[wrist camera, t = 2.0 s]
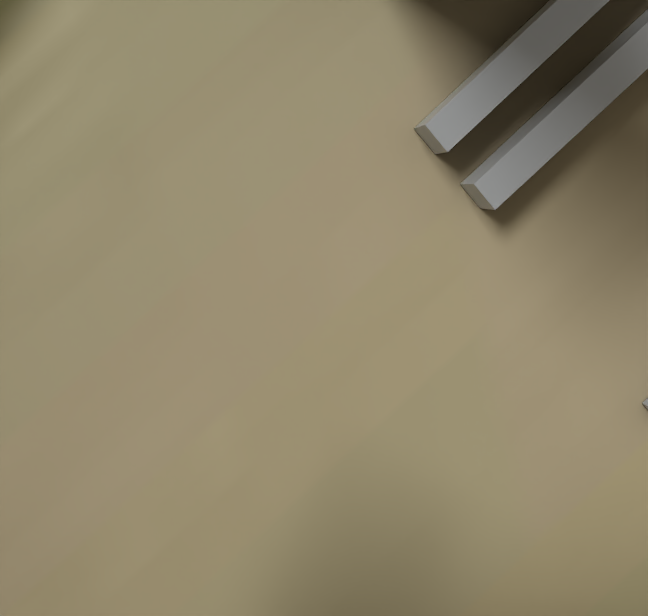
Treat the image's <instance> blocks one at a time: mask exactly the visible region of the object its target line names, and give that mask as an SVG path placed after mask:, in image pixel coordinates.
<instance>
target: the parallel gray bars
mask: <svg viewBox="0 0 648 616" xmlns="http://www.w3.org/2000/svg"><path fill="white" fill-rule="evenodd" d="M608 1H609V0H550V1H548V2H547V3H546V4H545V5H544V6H543V7H542V8H541V9H540V10H539V11H538V12H537V13H536V14H535V15H534V16H533V17H532V18H530V19H529V20H528V21H527V22H526V23H525V24H524V25H523V26H522V27H521V28H520V29H519V30H518V31H517V32H516V33H515V34H513V35H512V36H511V37H510V38H509V39H508V40H507V41H506V42H505V43H504V44H503V45H502V46H501V47H500V48H499V49H498V50H497V51H495V52H494V53H493V54H492V55H491V56H490V57H489V58H488V59H487V60H486V61H485V62H484V63H483V64H482V65H481V66H480V67H479V68H477V69H476V70H475V71H474V72H473V73H472V74H471V75H470V76H469V77H468V78H467V79H466V80H465V81H464V82H463V83H462V84H461V85H459V86H458V87H457V88H456V89H455V90H454V91H453V92H452V93H451V94H450V95H449V96H448V97H447V98H446V99H445V100H444V101H443V102H441V103H440V104H439V105H438V106H437V107H436V108H435V109H434V110H433V111H432V112H431V113H430V114H429V115H428V116H427V117H426V118H425V119H423V120H422V121H421V122H420V123H419V124H418V125H417V126H416V127H415V128H414V129H415V130H416V132H417V133H418V134H419V135H420V137H421V138H422V139H423V140H424V141H425V143H426V144H427V145H428V146H429V147H430V149H431V150H432V151H433V152H434V153H435V154H439V153H445V152H448V151H449V150H450V149H451V148H453V147H454V146H455V145H456V144H457V143H458V142H459V141H460V140H461V139H462V138H463V137H464V136H465V135H466V134H467V133H469V132H470V131H471V130H472V129H473V128H474V127H475V126H476V125H477V124H478V123H479V122H480V121H481V120H482V119H483V118H485V117H486V116H487V115H488V114H489V113H490V112H491V111H492V110H493V109H494V108H495V107H496V106H497V105H498V104H499V103H501V102H502V101H503V100H504V99H505V98H506V97H507V96H508V95H509V94H510V93H511V92H512V91H513V90H514V89H515V88H517V87H518V86H519V85H520V84H521V83H522V82H523V81H524V80H525V79H526V78H527V77H528V76H529V75H530V74H531V73H533V72H534V71H535V70H536V69H537V68H538V67H539V66H540V65H541V64H542V63H543V62H544V61H545V60H546V59H547V58H549V57H550V56H551V55H552V54H553V53H554V52H555V51H556V50H557V49H558V48H559V47H560V46H561V45H562V44H563V43H565V42H566V41H567V40H568V39H569V38H570V37H571V36H572V35H573V34H574V33H575V32H576V31H577V30H578V29H579V28H581V27H582V26H583V25H584V24H585V23H586V22H587V21H588V20H589V19H590V18H591V17H592V16H593V15H594V14H595V13H597V12H598V11H599V10H600V9H601V8H602V7H603V6H604V5H605V4H606V3H607V2H608ZM647 69H648V9H647V10H646V11H645V12H644V13H643V14H642V15H641V16H640V17H638V18H637V19H636V20H635V21H634V22H633V23H632V24H631V25H630V26H629V27H628V28H627V29H626V30H625V31H623V32H622V33H621V34H620V35H619V36H618V37H617V38H616V39H615V40H614V41H613V42H612V43H611V44H610V45H608V46H607V47H606V48H605V49H604V50H603V51H602V52H601V53H600V54H599V55H598V56H597V57H596V58H595V59H593V60H592V61H591V62H590V63H589V64H588V65H587V66H586V67H585V68H584V69H583V70H582V71H581V72H580V73H578V74H577V75H576V76H575V77H574V78H573V79H572V80H571V81H570V82H569V83H568V84H567V85H566V86H565V87H563V88H562V89H561V90H560V91H559V92H558V93H557V94H556V95H555V96H554V97H553V98H552V99H551V100H549V101H548V102H547V103H546V104H545V105H544V106H543V107H542V108H541V109H540V110H539V111H538V112H537V113H536V114H534V115H533V116H532V117H531V118H530V119H529V120H528V121H527V122H526V123H525V124H524V125H523V126H522V127H521V128H519V129H518V130H517V131H516V132H515V133H514V134H513V135H512V136H511V137H510V138H509V139H508V140H507V141H506V142H504V143H503V144H502V145H501V146H500V147H499V148H498V149H497V150H496V151H495V152H494V153H493V154H492V155H491V156H489V157H488V158H487V159H486V160H485V161H484V162H483V163H482V164H481V165H480V166H479V167H478V168H477V169H476V170H474V171H473V172H472V173H471V174H470V175H469V176H468V177H467V178H466V179H465V180H464V181H463V182H462V183H460V185H461V186H462V187H463V188H464V189H465V191H466V192H467V193H468V194H469V195H470V197H471V198H472V199H473V200H474V201H475V203H476V204H477V205H478V206H479V207H480V208H483V209H492V210H496V209H497V208H498V207H499V206H500V205H501V204H502V203H503V202H504V201H505V200H506V199H508V198H509V197H510V196H511V195H512V194H513V193H514V192H515V191H516V190H517V189H518V188H519V187H520V186H522V185H523V184H524V183H525V182H526V181H527V180H528V179H529V178H530V177H531V176H532V175H533V174H535V173H536V172H537V171H538V170H539V169H540V168H541V167H542V166H543V165H544V164H545V163H546V162H547V161H549V160H550V159H551V158H552V157H553V156H554V155H555V154H556V153H557V152H558V151H559V150H560V149H562V148H563V147H564V146H565V145H566V144H567V143H568V142H569V141H570V140H571V139H572V138H573V137H574V136H576V135H577V134H578V133H579V132H580V131H581V130H582V129H583V128H584V127H585V126H586V125H587V124H589V123H590V122H591V121H592V120H593V119H594V118H595V117H596V116H597V115H598V114H599V113H600V112H601V111H603V110H604V109H605V108H606V107H607V106H608V105H609V104H610V103H611V102H612V101H613V100H614V99H616V98H617V97H618V96H619V95H620V94H621V93H622V92H623V91H624V90H625V89H626V88H627V87H628V86H630V85H631V84H632V83H633V82H634V81H635V80H636V79H637V78H638V77H639V76H640V75H641V74H643V73H644V72H645V71H646V70H647ZM642 404H643V405H644V406H645V407H646V408H647V410H648V398H647V399H646V400H645V401H644V402H643V403H642Z"/></svg>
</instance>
